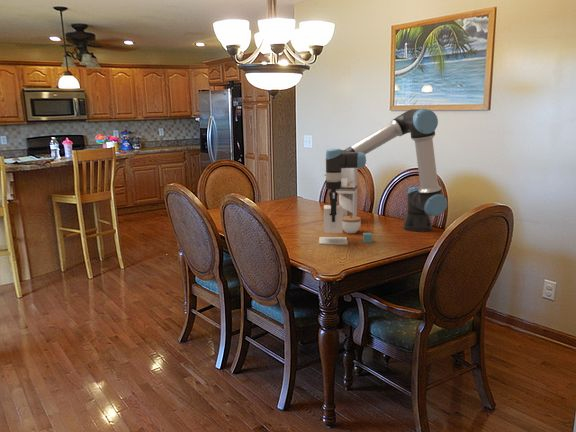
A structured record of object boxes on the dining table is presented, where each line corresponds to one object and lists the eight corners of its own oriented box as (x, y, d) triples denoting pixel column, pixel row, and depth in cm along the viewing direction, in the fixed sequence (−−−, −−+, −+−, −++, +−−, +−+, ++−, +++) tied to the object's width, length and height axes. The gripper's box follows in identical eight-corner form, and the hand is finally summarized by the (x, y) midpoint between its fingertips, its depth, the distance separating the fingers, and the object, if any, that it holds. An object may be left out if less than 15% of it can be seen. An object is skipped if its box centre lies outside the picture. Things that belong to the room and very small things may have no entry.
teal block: (371, 240, 236) (371, 232, 235) (371, 242, 232) (372, 234, 231) (363, 240, 236) (363, 232, 236) (363, 242, 232) (363, 234, 232)
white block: (341, 228, 238) (341, 205, 236) (342, 232, 229) (342, 208, 227) (323, 228, 239) (323, 205, 236) (323, 232, 230) (324, 208, 228)
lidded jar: (345, 235, 247) (345, 217, 245) (337, 230, 257) (337, 213, 255) (364, 233, 250) (364, 216, 248) (356, 229, 260) (356, 212, 258)
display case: (339, 219, 284) (339, 161, 277) (356, 219, 282) (357, 161, 274) (335, 223, 274) (336, 163, 266) (353, 224, 271) (354, 163, 263)
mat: (346, 238, 241) (346, 237, 241) (347, 244, 229) (347, 243, 229) (319, 238, 242) (319, 237, 242) (319, 244, 230) (319, 243, 230)
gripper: (325, 177, 240) (325, 220, 244) (326, 184, 219) (325, 231, 223) (340, 177, 239) (339, 221, 244) (342, 184, 218) (341, 231, 223)
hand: (333, 225), depth 234 cm, fingers closed on white block, 9 cm apart
